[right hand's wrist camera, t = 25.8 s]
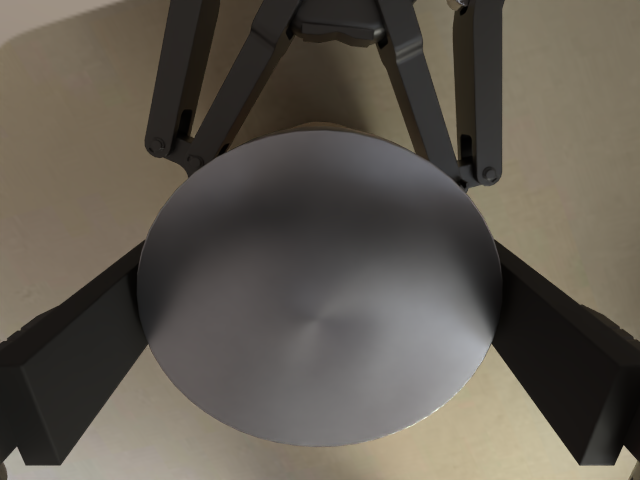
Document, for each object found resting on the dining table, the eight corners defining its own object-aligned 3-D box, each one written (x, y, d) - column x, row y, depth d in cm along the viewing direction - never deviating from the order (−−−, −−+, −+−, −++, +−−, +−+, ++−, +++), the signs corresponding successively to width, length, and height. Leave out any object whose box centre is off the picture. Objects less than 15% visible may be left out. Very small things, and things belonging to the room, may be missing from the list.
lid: (117, 331, 13) (86, 366, 11) (252, 47, 9) (237, 33, 8) (361, 441, 15) (367, 485, 13) (544, 240, 11) (584, 264, 10)
